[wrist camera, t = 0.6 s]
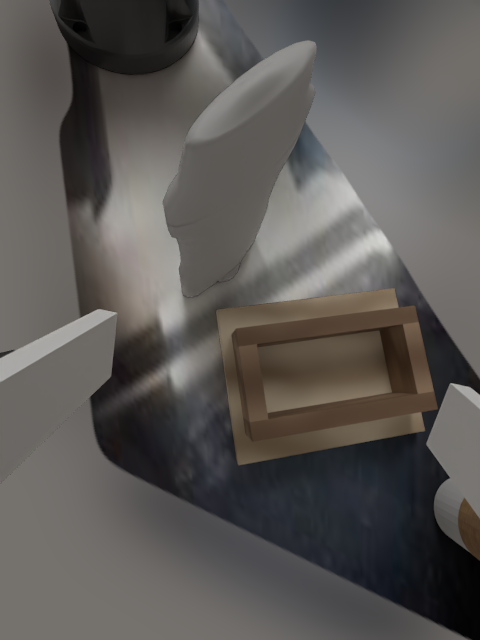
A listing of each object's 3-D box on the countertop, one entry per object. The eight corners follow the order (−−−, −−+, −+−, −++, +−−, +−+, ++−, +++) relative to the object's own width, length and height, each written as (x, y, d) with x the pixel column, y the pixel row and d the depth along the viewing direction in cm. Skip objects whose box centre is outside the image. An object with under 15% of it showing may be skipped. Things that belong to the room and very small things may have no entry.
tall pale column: (241, 214, 37) (307, -22, 15) (269, 242, 36) (377, 44, 15) (165, 283, 34) (116, 122, 13) (195, 313, 34) (196, 201, 13)
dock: (216, 312, 35) (219, 300, 29) (386, 291, 37) (418, 276, 32) (236, 461, 32) (244, 477, 27) (415, 428, 35) (455, 437, 30)
